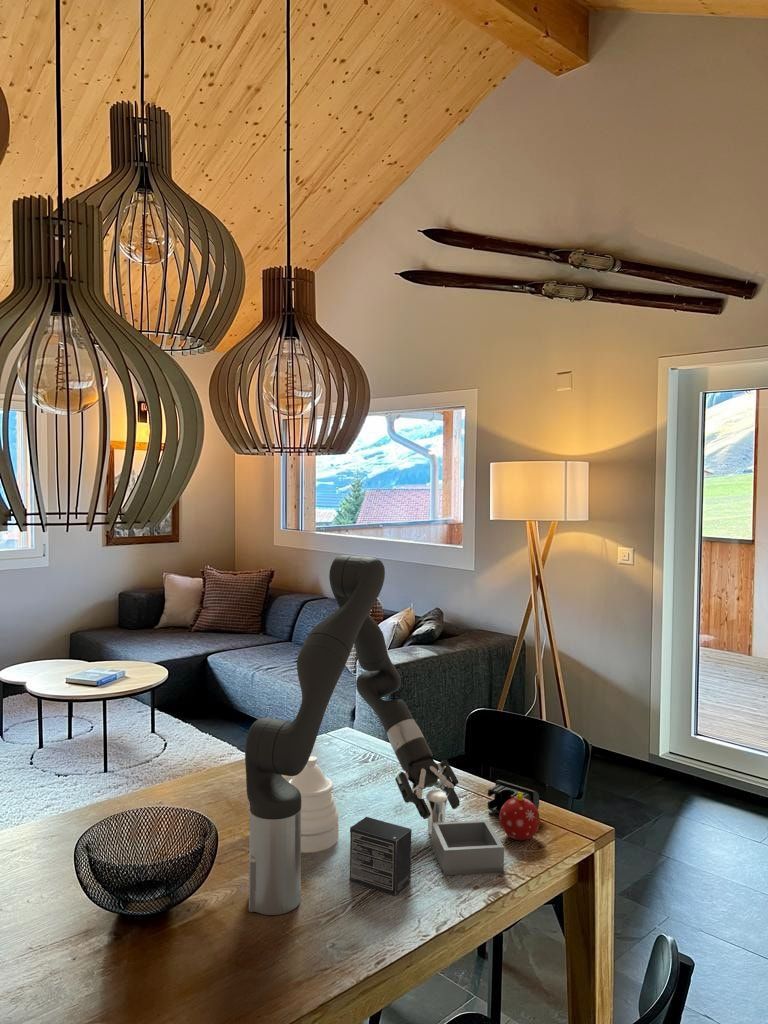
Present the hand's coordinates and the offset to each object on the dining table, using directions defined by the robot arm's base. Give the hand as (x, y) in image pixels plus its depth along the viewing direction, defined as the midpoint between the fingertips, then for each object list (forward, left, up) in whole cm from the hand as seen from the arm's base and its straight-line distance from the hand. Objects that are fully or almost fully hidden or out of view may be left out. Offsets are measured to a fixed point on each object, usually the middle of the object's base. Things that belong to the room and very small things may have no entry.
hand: (442, 812), depth 165 cm
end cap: (+18, +8, -5) cm, 21 cm away
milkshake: (-1, +1, -5) cm, 5 cm away
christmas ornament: (+16, -3, -5) cm, 17 cm away
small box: (-16, -17, -5) cm, 24 cm away
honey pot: (-29, +2, -5) cm, 29 cm away
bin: (+3, -10, -5) cm, 12 cm away
